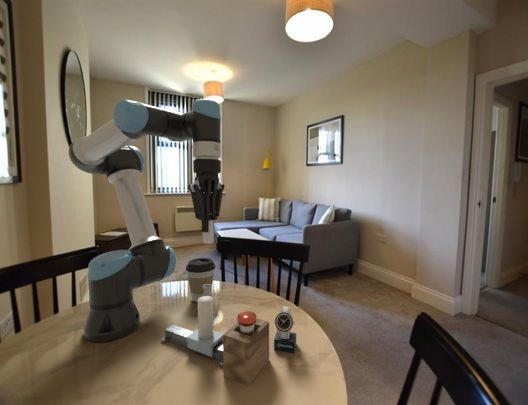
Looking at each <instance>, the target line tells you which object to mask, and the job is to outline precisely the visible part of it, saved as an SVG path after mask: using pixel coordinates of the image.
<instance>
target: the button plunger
mask: <svg viewBox="0 0 528 405" xmlns="http://www.w3.org/2000/svg"><path fill="white" fill-rule="evenodd" d="M256 318H257V314H256V313H255V312H253V311H242V312H239V314H238V315H237V318H236V319H237V322H238V324H240V333H242V334H245V335H249V336H251V335H252V334H253V333H254V324H255V323H256Z"/></svg>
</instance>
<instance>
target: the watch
mask: <svg viewBox="0 0 528 405" xmlns="http://www.w3.org/2000/svg"><path fill="white" fill-rule="evenodd" d="M274 325H275V328H276V333H275V336H274V338H273V350H274V351H277V352H284V353H290V354H295V353H296V347H297V332H291V331H292V329H293V327H294V326H295V325H296V322H295V321H294V318H293V315H292V309H291V307H290V306H284V305H283V306H281V308H280V310H279V311H278V313H277V315H276V317H275V318H274Z"/></svg>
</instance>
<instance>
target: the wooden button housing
mask: <svg viewBox="0 0 528 405" xmlns="http://www.w3.org/2000/svg"><path fill="white" fill-rule="evenodd" d="M269 360H270V322H269V321H267V320H263V319H261V318H260V319H259V318H257V317H256V323H255V324H254V333H253V334H252V335H251V336H249V335H245V334H242V333H240V324H238V321H237V322H236V323H235V324H233V326H231V327H230V328H229V329H228V330H227V331H225V332H224V334H223V367H222V371H223V372H222V373H223V376H224V377H227V378H229V379H232V380H233V381H236V382H238V383H240V384H243V385H245V386H248V387H250V385H251V384H252V383H253V381H254V380H255V378H256V377H257V376H258V375H259V374H260V372H261V371H262V370H263V368H264V366H266V364H267V363H268V362H269Z"/></svg>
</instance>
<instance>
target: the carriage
mask: <svg viewBox="0 0 528 405" xmlns="http://www.w3.org/2000/svg"><path fill="white" fill-rule="evenodd" d="M213 299H214V297H213V298H212V297H210V296H203V297H200V298H198V303H197V314H198V316H197V329H196V330H194V331H193V333H192V334H190V335H189V336H187V341H188V348H190V349H189V350H191V349H193V350H195V351H194V352H196V351H198V352H200V353H199V354H201V353H203V354H205V355H204V356H206V355H208V356H210V357H209V358H211V357H212V356H213V347H214V346H215V345H216V344H218V343H219V342H220V341H221V342H223V334H224V333H225V332H224V333H223V332H221V331H217V330H215V329H214V317H213ZM188 348H187V349H188ZM193 350H192V351H193ZM198 352H197V353H198ZM203 354H202V355H203ZM208 356H207V357H208Z"/></svg>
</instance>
